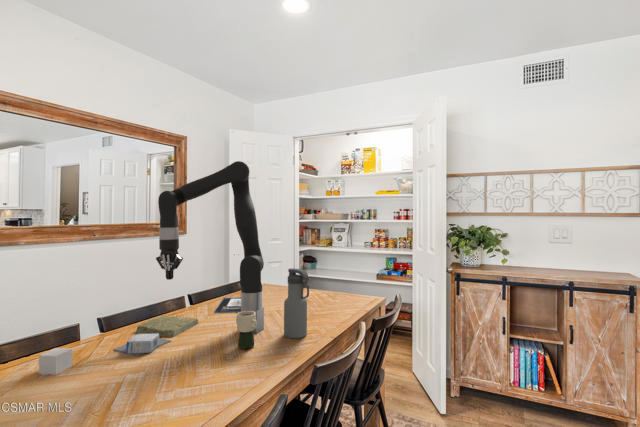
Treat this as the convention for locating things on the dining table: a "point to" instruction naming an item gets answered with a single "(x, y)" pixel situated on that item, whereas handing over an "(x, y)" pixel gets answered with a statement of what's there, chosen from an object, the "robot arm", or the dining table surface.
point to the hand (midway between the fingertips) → (169, 279)
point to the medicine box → (142, 343)
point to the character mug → (246, 328)
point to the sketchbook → (229, 305)
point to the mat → (123, 349)
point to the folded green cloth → (167, 325)
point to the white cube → (55, 361)
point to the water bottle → (296, 305)
